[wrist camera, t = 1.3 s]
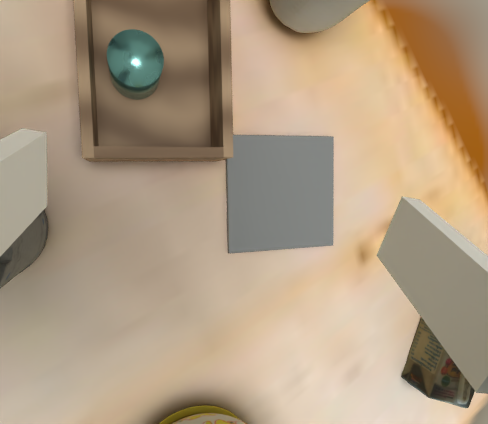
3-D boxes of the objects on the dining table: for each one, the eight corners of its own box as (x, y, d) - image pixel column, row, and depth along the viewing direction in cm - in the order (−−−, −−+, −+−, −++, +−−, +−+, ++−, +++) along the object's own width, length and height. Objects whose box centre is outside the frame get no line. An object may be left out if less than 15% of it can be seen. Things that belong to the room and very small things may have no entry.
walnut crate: (79, -36, 38) (68, -81, 32) (213, -17, 42) (229, -55, 36) (90, 161, 40) (82, 157, 33) (217, 161, 44) (233, 157, 37)
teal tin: (108, 49, 39) (105, 26, 33) (158, 53, 40) (162, 32, 35) (111, 98, 39) (108, 84, 34) (159, 100, 41) (164, 87, 35)
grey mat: (225, 135, 44) (226, 134, 44) (331, 137, 48) (333, 136, 48) (228, 252, 45) (229, 253, 45) (330, 244, 49) (333, 245, 49)
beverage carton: (396, 377, 55) (431, 402, 48) (439, 253, 55) (479, 262, 49) (436, 388, 57) (474, 413, 51) (477, 269, 58) (520, 279, 51)
